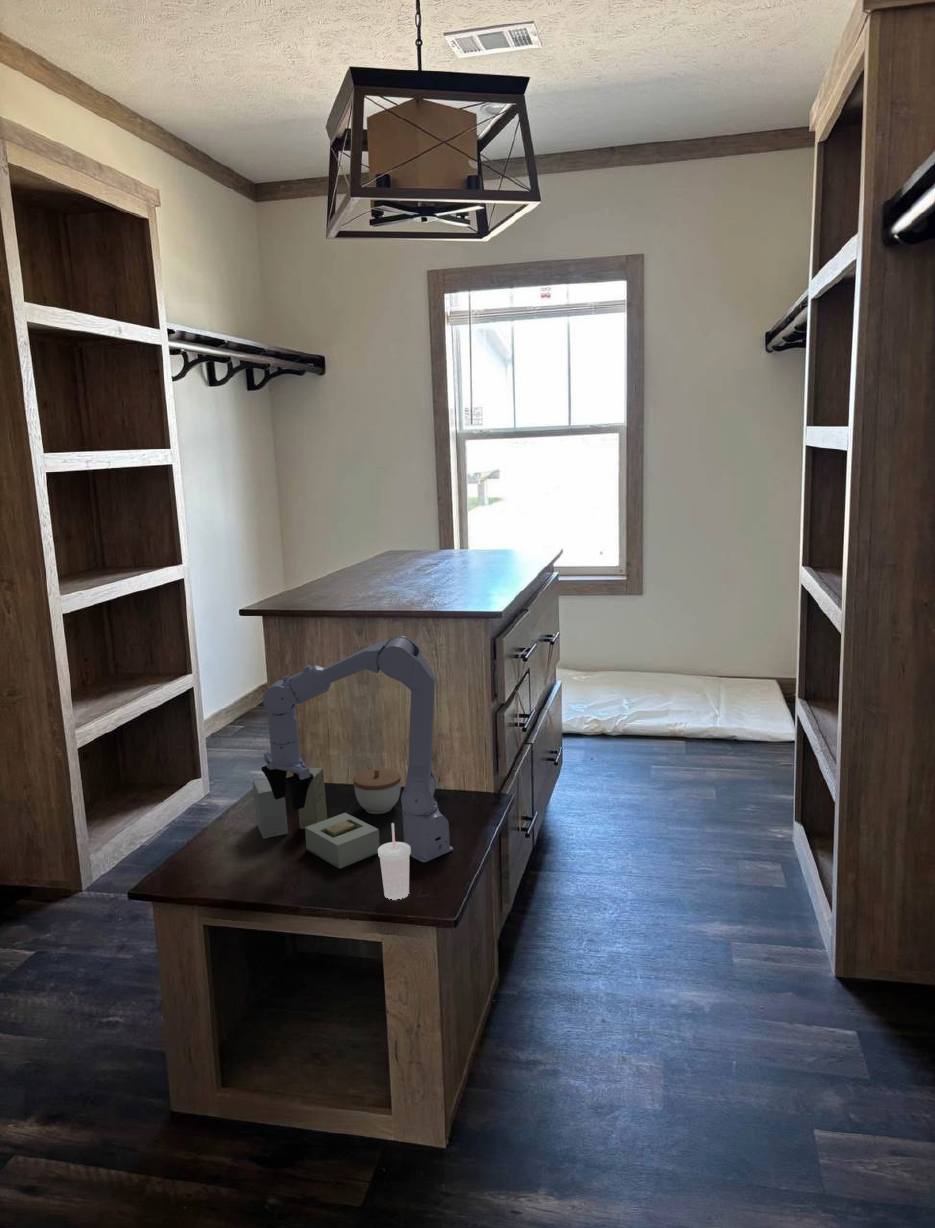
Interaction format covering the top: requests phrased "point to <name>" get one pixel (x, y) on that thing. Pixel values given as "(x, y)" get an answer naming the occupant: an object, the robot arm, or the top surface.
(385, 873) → the beverage cup
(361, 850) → the slot box
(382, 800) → the lidded jar
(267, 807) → the small box
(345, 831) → the wooden rectangular block
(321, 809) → the skincare box
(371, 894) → the top surface
